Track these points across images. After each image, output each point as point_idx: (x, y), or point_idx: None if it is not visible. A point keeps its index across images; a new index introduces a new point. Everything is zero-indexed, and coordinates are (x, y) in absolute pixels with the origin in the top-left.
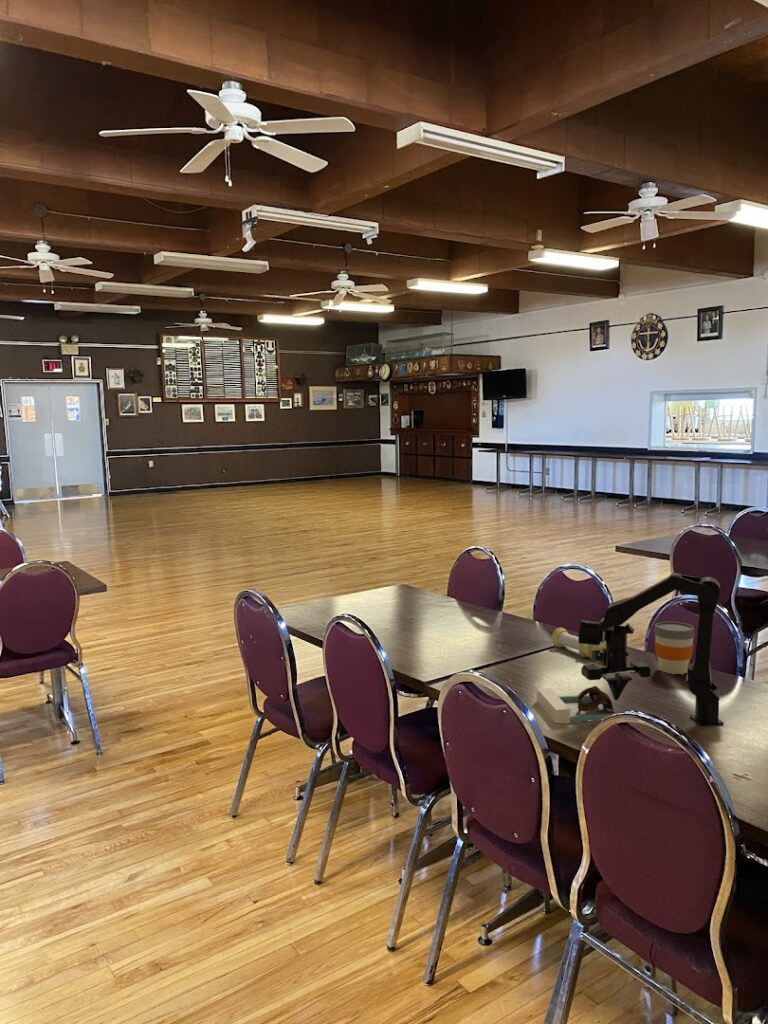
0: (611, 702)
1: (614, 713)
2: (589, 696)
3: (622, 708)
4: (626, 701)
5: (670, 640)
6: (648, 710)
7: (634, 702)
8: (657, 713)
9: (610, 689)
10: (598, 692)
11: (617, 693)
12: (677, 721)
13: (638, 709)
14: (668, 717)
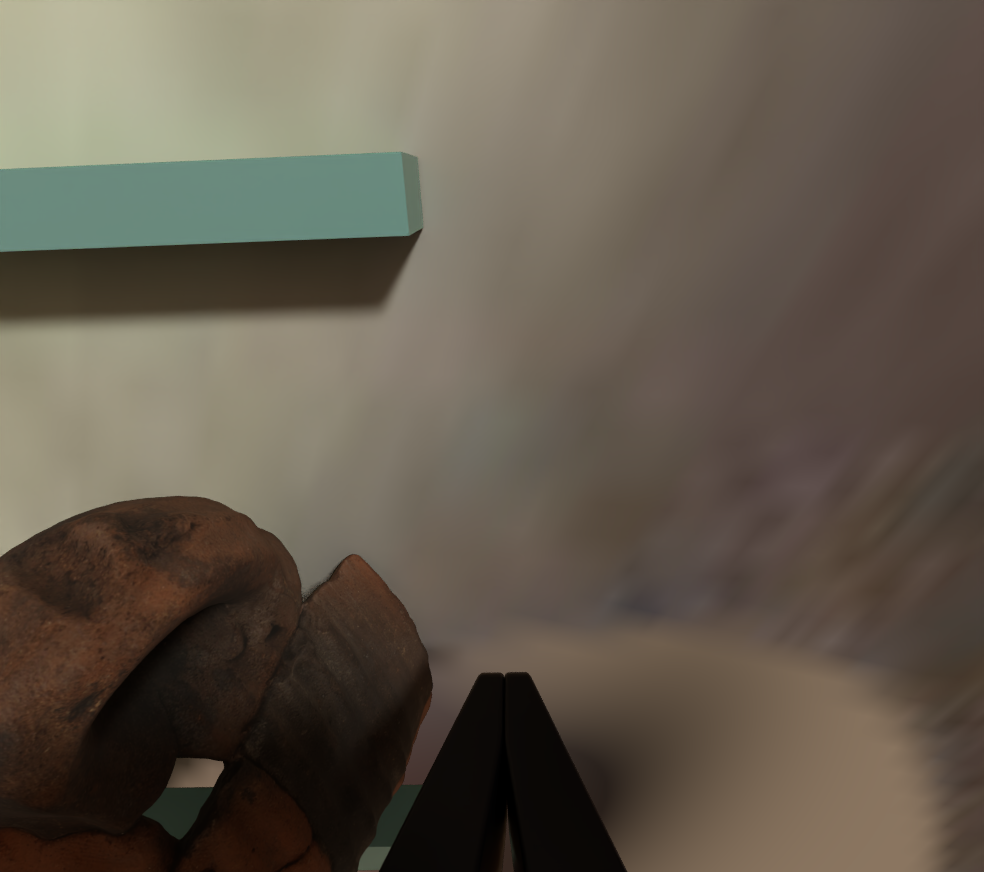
0: (364, 848)
1: (377, 848)
2: (134, 242)
3: (604, 572)
4: (822, 331)
5: None
6: (891, 651)
7: (920, 387)
8: (924, 723)
9: (398, 837)
10: (113, 846)
11: (514, 866)
12: (955, 865)
13: (791, 616)
14: (951, 802)
